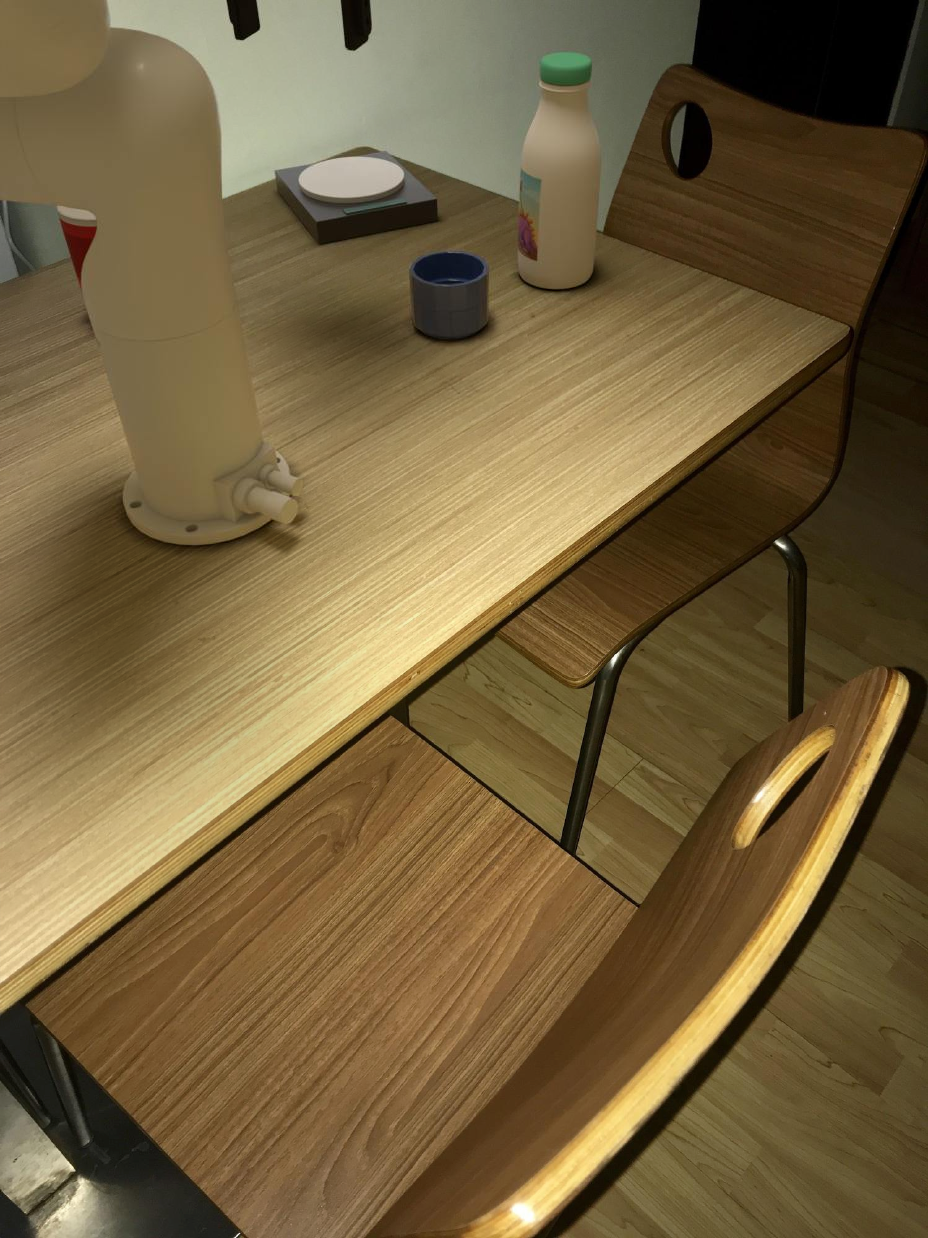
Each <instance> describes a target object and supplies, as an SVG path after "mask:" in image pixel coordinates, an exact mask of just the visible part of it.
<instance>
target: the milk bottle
mask: <svg viewBox="0 0 928 1238" xmlns="http://www.w3.org/2000/svg"><path fill="white" fill-rule="evenodd" d="M592 71H593V62H592V58H590V56H588V55H586V54H583V53H579V52H570V51H561V52H554V53H550V54H546V55H544V56H543V57H542V58H541V59H540V63H539V78H540V81H539V87H540V88H541V96H540V99H539V104H538V107H537V110H536V113H535V115H534V118H533V120H532V122H531V124H530V126H529V129H528V131H527V133H526V136H525V139H524V141H523V146H522V152H521V158H520V174H519V198H518V199H519V200H518V235H517V236H518V237H517V239H518V241H517V272H518V275H519V276H520V277H521V279H522V280H523V281H524V282H526V283H528V284H529V285H532V286H534V287H537V288H541V289H548V290H549V289H550V290H565V289H570V288H575V287H579V286H581V285H583V284H585V283H586V282H587V281H589V279H590V277H591V276H592V274H593V272H594V265H595V255H596V254H595V253H596V243H597V231H598V230H597V228H598V215H599V201H600V188H601V171H602V152H601V143H600V139H599V134H598V132H597V128H596V125H595V122H594V120H593V117H592V114H591V109H590V104H589V98H588V90H589V88H590V87H591V85H592V84H591V77H592Z"/></svg>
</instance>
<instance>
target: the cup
mask: <svg viewBox="0 0 928 1238" xmlns="http://www.w3.org/2000/svg"><path fill="white" fill-rule="evenodd" d="M408 274H409V277H408V278H409V293H410V295H409V296H410V311H411V321H412V323H413V325H414V327H415V328H417V329H418V330H420V332H421V333H423V334H425V335H427V336H429V337H432V338H436V339H439V340H457V339H463V338H467V337H470V336H472V335H475V334H476V333H478V332H479V331H481V329H482V328H484V327H485V326H486V325H487V324H488V320H489V317H490V316H489V315H490V304H489V303H490V301H489V300H490V295H489V294H490V267H489V265H488V262H487V261H486V260H485V259H484V258H483V257H481V256H479V255H477V254H475V253H471V252H466V251H462V250H441V251H433V252H429V253H426V254H424V255H420V256H419V257H418V258H417V259H414V261H412V262H411V264H410V266H409V269H408Z"/></svg>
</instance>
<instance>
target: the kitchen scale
mask: <svg viewBox="0 0 928 1238" xmlns="http://www.w3.org/2000/svg"><path fill="white" fill-rule="evenodd" d="M274 176H275V177H274V178H275V183H276V190H277V193H278V194H279V196H280V197H281V198H282V199H283V200H284V202H285V203H286V205H288V207H289V208H290V209H291V210H292V212H293V213H294V214H295V216H296V217H297V219H298V220H299V221H300V222H301V224H302V225H303V226H304V227H305V228H306V230H308V232H309V234H310V235H311V237H313V239H314V240H315V241H316V242H317V244H318V245H323V244H329V243H334V242H338V241H344V240H349V239H354V238H358V237H364V236H369V235H374V234H379V233H384V232H390V231H393V230H399V229H404V228H410V227H414V226H420V225H425V224H429V223H434V222H438V221H439V216H438V215H439V213H438V198H437V197H436V196H435V195H434V194H433V193H432V192H431V191H429V189H428V188H427V187H425V185H424V184H422V183H421V182H420V181H419V180H418V179H417V178H416V177H415V176H413V175H412V174H411V173H410V172H409V171H408V170H407V168H405V167H404V166H403V165H402V164H401V163H400V162H398V161H397V159H396V158H394V157H393V156H392V155H391V154H390V153H389V152H388V151H387V150H383V151H378V152H372V153H367V154H359V155H355V156H345V157H344V156H343V157H337V158H331V159H327V160H323V161H320V162H315V163H309V164H303V165H297V166H292V167H286V168H281V169H275V170H274Z"/></svg>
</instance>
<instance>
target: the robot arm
mask: <svg viewBox="0 0 928 1238" xmlns="http://www.w3.org/2000/svg"><path fill="white" fill-rule="evenodd" d="M226 6H227V7H226V8H227V13H228V18H229V22H230V24H231V25H232V29H233V35H234V39H235V40H236V41H245V40H247V39H248V38H250V37H251V36H253V35H255V34H256V33H258V32H259V31H260V30H261V20H260V14H259V6H258V0H226ZM340 7H341V8H340V9H341V19H342V30H343V41H344V47H345V49H346V50H347V51H352V52H355V51H357V50H358V49H359V48H361V47H362V46H363V45H365V44H366V43H367V42H368V41H369V39H370V35H371V33H372V30H373V21H372V7H371V0H340ZM111 21H112V19H111V13H110V8H109V3H108V0H0V201H6V202H15V203H25V204H35V205H44V206H45V205H47V206H56V207H57V206H64V207H68V208H74V209H81V210H86V211H89V212H91V213H92V214H94V215H95V217H96V220H97V231H96V235H95V237H94V239H93V241H92V244H91V246H90V248H89V250H88V252H87V254H86V257H85V260H84V262H83V267H82V272H81V286H82V291H81V294H82V293H83V295H82V298H83V301H84V305H85V308H86V312H87V316H88V319H89V321H90V324H91V328H92V331H93V334H94V337H95V341H96V343H97V344H96V345H97V347H98V350H99V351H98V352H99V353H100V357H101V361H102V364H103V367H104V370H105V373H106V376H107V380H108V382H109V387H110V390H111V393H112V397H113V401H114V403H115V406H116V409H117V412H118V417H119V419H120V422H121V426H122V429H123V433H124V436H125V439H126V442H127V446H128V449H129V453H130V456H131V460H132V463H133V465H134V466H133V467H134V469H133V471H132V472H131V473H130V475H129V476H128V478H127V479H126V481H125V483H124V486H123V490H122V504H123V507H124V510H125V513H126V516H127V518H128V519H129V521H130V523H131V524H132V525H133V526H134V527H135V528H136V529H137V530H138V531H139V532H141V533H143V534H144V535H146V536H148V537H150V538H151V539H154V540H158V541H160V542H163V543H168V544H175V545H180V546H181V545H182V546H203V545H213V544H219V543H223V542H226V541H231V540H234V539H237V538H240V537H243V536H245V535H248V534H250V533H252V532H253V531H256V530H258V529H260V528H262V527H263V526H264V525H266V524H267V523H268V522H270V521H272V520H273V521H275V522H278V523H280V524H283V525H289V524H290V523H292V522H293V521H294V520H295V518H296V516H297V515H298V510H299V503H298V501H297V499H295V498H296V497H299V496H300V495H301V494H302V493H303V490H304V487H305V483H304V479H301V478H299V477H296V476H294V475H291V469H290V466H289V464H288V462H287V460H286V459H285V457H284V456H283V455H282V453H280V452H279V451H277V450H276V448H275V445H274V444H271V443H269V442H266V441H264V438H263V432H262V427H261V422H260V416H259V409H258V405H257V401H256V400H257V399H256V394H255V390H254V384H253V380H252V372H251V368H250V363H249V362H250V361H249V356H248V352H247V347H246V342H245V337H244V336H245V335H244V331H243V326H242V320H241V315H240V310H239V304H238V299H237V293H236V287H235V282H234V276H233V271H232V265H231V260H230V259H231V258H230V253H229V252H230V251H229V246H228V239H227V232H226V223H225V214H224V199H223V174H222V173H223V168H222V165H223V164H222V162H223V160H222V157H223V156H222V155H223V154H222V152H223V151H222V123H221V122H222V119H221V112H220V105H219V99H218V96H217V93H216V90H215V87H214V84H213V82H212V80H211V78H210V76H209V73H207V71H206V69H205V68H204V66H203V64H201V62H199V60H198V59H197V58H196V57H195V56H194V55H193V54H192V53H190V51H188V50H187V49H185V48H184V47H182V46H181V45H179V44H177V43H176V42H174V41H172V40H170V39H169V38H166V37H162V36H161V35H157V34H154V33H150V32H147V31H143V30H137V29H132V28H126V27H115V26H111ZM291 496H293V497H295V498H293V497H291Z"/></svg>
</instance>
